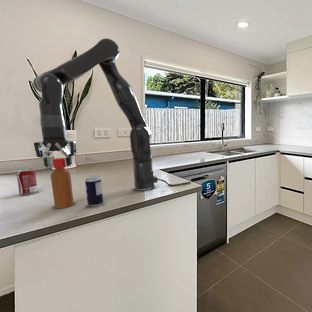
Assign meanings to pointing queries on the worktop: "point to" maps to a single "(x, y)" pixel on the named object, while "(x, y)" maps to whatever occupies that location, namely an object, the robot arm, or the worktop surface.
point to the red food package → (27, 181)
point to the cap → (59, 163)
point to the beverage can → (94, 190)
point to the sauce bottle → (62, 188)
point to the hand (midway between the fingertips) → (58, 166)
